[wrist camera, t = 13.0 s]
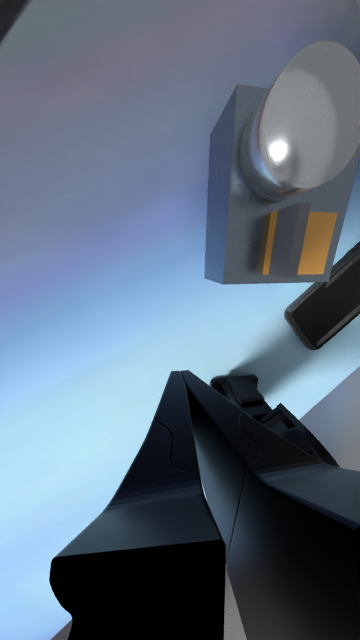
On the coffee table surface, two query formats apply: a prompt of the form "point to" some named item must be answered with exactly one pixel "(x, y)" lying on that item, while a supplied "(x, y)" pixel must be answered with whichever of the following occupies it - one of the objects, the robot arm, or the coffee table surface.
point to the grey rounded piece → (304, 123)
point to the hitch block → (256, 203)
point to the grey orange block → (298, 241)
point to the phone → (328, 303)
